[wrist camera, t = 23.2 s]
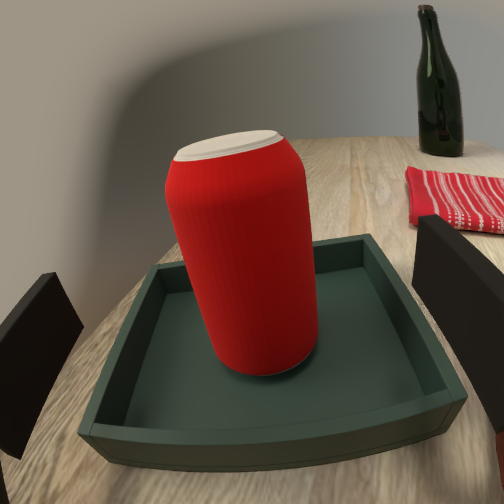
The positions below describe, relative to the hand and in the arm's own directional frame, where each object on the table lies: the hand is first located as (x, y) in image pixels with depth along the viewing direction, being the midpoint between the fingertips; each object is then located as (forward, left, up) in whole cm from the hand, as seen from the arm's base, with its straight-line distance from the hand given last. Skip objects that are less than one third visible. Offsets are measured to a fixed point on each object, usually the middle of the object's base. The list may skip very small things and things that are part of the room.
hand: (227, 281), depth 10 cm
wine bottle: (+40, +51, -9) cm, 66 cm away
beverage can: (0, +5, -8) cm, 10 cm away
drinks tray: (0, +5, -9) cm, 10 cm away
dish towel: (+29, +21, -9) cm, 37 cm away
